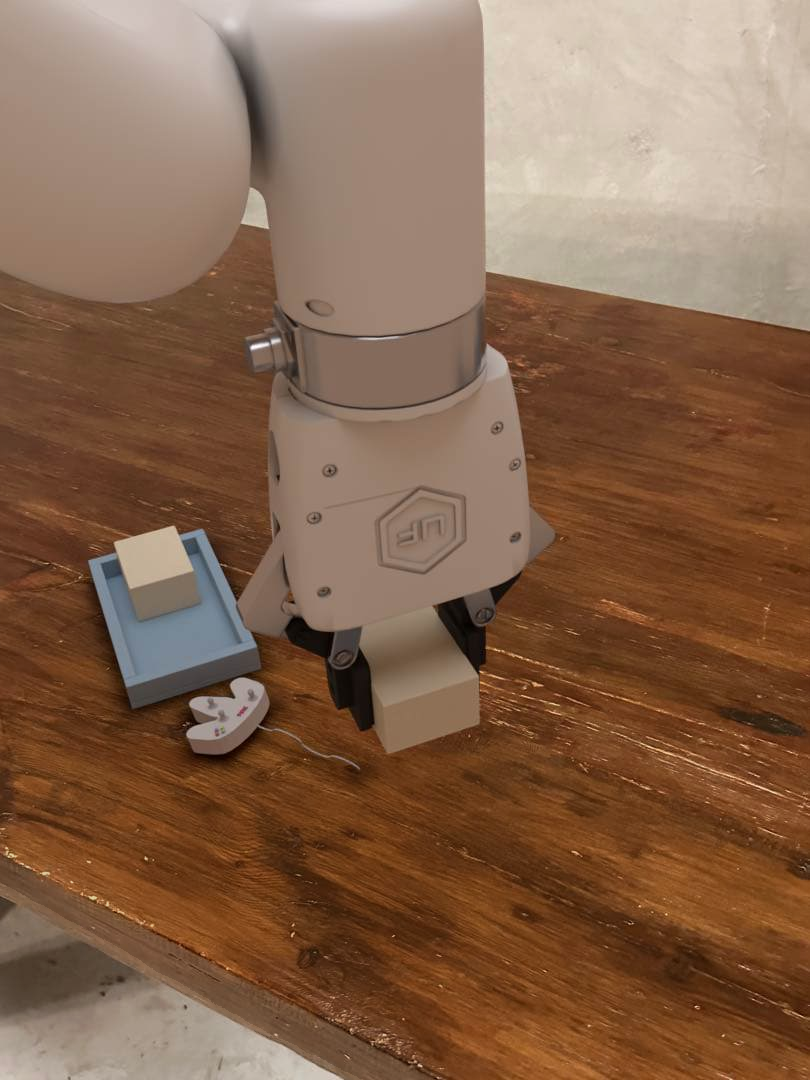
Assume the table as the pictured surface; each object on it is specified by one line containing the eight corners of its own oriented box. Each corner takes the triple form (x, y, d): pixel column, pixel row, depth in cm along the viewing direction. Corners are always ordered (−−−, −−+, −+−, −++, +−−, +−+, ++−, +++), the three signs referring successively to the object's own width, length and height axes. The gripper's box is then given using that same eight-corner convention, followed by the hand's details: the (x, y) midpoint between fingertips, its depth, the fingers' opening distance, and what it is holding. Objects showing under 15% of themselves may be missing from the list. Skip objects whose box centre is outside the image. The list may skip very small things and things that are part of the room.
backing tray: (261, 669, 74) (257, 646, 73) (132, 709, 72) (125, 687, 71) (207, 549, 85) (202, 528, 84) (93, 581, 83) (87, 560, 82)
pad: (480, 724, 51) (479, 676, 49) (387, 755, 50) (383, 706, 48) (429, 643, 55) (426, 596, 54) (343, 670, 54) (337, 623, 52)
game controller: (203, 691, 73) (197, 661, 71) (378, 706, 71) (375, 676, 69) (174, 757, 68) (166, 726, 67) (360, 775, 66) (356, 744, 65)
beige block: (201, 603, 79) (194, 570, 77) (138, 622, 78) (129, 589, 76) (182, 557, 84) (174, 524, 82) (122, 574, 82) (113, 541, 81)
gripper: (183, 439, 37) (256, 809, 47) (637, 331, 41) (608, 691, 52) (139, 345, 42) (213, 695, 53) (542, 259, 47) (534, 598, 58)
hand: (408, 690), depth 52 cm, fingers closed on pad, 4 cm apart
